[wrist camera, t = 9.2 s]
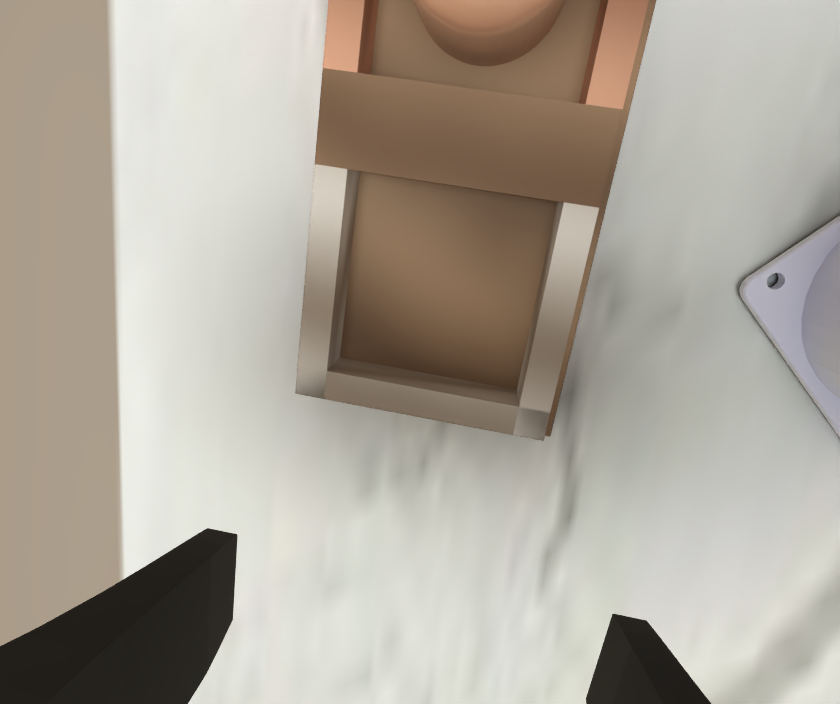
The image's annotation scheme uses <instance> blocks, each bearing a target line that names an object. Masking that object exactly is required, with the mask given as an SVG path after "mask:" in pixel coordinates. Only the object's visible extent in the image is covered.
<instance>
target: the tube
mask: <svg viewBox="0 0 840 704" xmlns="http://www.w3.org/2000/svg"><path fill="white" fill-rule="evenodd" d="M413 1H414V4H415V6H416V9H417V11H418V13H419V16H420V18H421V20H422V22H423V24H424V26H425V29H426V31H427V32H428V34H429V35H430V37H431V38H432V40H433V41H434V42H435V43H436V44H437V45H438V46H439V47H440V48H441V49H442V50H443V51H444V52H445V53H447V54H448V55H450V56H451V57H453V58H454V59H457V60H459V61H461V62H463V63H467V64H470V65H476V66H495V65H501V64H505V63H508V62H511V61H513V60H515V59H518V58H520V57H521V56H523V55H525V54H526V53H528V52H529V51H530V50H532V49H533V48H534V47H535V46H537V45H538V44H539V43H540V42H541V41H542V39H543V38H544V37H545V36H546V35H547V34H548V32H549V31H550V30H551V28H552V27H553V25H554V23H555V22H556V20H557V18H558V16H559V14H560V11H561V9H562V7H563V4H564V1H565V0H413Z"/></svg>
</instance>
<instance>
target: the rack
mask: <svg viewBox="0 0 840 704" xmlns="http://www.w3.org/2000/svg"><path fill="white" fill-rule="evenodd" d="M655 3H656V0H565V1H564V4H563V7H562V9H561V11H560V14H559V16H558V18H557V20H556V22H555V23H554V25H553V27H552V28H551V30H550V31H549V32H548V34H547V35H546V36H545V37H544V38H543V39H542V41H541V42H540V43H539V44H538V45H537V46H535V47H534V48H533V49H532V50H530V51H529V52H528V53H526V54H525V55H523V56H521V57H520V58H518V59H515V60H513V61H511V62H508V63H505V64H501V65H495V66H476V65H470V64H467V63H463V62H461V61H459V60H457V59H454V58H453V57H451V56H450V55H448V54H447V53H445V52H444V51H443V50H442V49H441V48H440V47H439V46H438V45H437V44H436V43H435V42H434V41H433V40H432V38H431V37H430V35H429V34H428V32H427V31H426V29H425V26H424V24H423V22H422V20H421V18H420V16H419V13H418V11H417V9H416V6H415V4H414V1H413V0H329V2H328V14H327V26H326V37H325V49H324V61H323V73H322V85H321V97H320V108H319V120H318V132H317V144H316V156H315V167H314V179H313V191H312V203H311V215H310V226H309V238H308V250H307V262H306V274H305V286H304V297H303V309H302V321H301V333H300V345H299V356H298V368H297V380H296V392H295V393H296V394H301V395H306V396H312V397H317V398H322V399H327V400H333V401H338V402H343V403H348V404H354V405H359V406H364V407H369V408H375V409H380V410H385V411H390V412H396V413H401V414H406V415H411V416H417V417H422V418H427V419H432V420H438V421H443V422H448V423H453V424H459V425H464V426H469V427H474V428H480V429H485V430H490V431H495V432H501V433H506V434H511V435H516V436H522V437H527V438H532V439H537V440H543V441H544V436H550V435H551V431H552V427H553V423H554V419H555V415H556V411H557V407H558V402H559V398H560V394H561V390H562V386H563V382H564V378H565V374H566V369H567V365H568V361H569V357H570V353H571V349H572V345H573V341H574V337H575V332H576V328H577V324H578V320H579V316H580V312H581V308H582V304H583V299H584V295H585V291H586V287H587V283H588V279H589V275H590V271H591V267H592V262H593V258H594V254H595V250H596V246H597V242H598V238H599V234H600V229H601V225H602V221H603V217H604V213H605V209H606V205H607V201H608V197H609V192H610V188H611V184H612V180H613V176H614V172H615V168H616V164H617V159H618V155H619V151H620V147H621V143H622V139H623V135H624V131H625V127H626V122H627V118H628V114H629V110H630V106H631V102H632V98H633V94H634V89H635V85H636V81H637V77H638V73H639V69H640V65H641V61H642V57H643V52H644V48H645V44H646V40H647V36H648V32H649V28H650V24H651V19H652V15H653V11H654V7H655Z"/></svg>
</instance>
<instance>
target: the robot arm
mask: <svg viewBox="0 0 840 704" xmlns="http://www.w3.org/2000/svg"><path fill="white" fill-rule="evenodd" d="M774 273H777V274H778V277H779V279H778V282H777V283H776V284H775V285H774V286H772V287H770V288H769V287H768V285H767V280H768V277H769V276H770V275H771V274H774ZM739 294H740V296H741V298H742V300H743V301H744V303H745V304H746V306H747V307H748V308H749V310H750V311H751V313H752V314H753V316H754V317H755V318H756V320H757V321H758V323H759V324H760V325H761V327H762V328H763V330H764V331H765V333H766V334H767V335H768V337H769V338H770V340H771V341H772V342H773V344H774V345H775V347H776V348H777V350H778V351H779V352H780V354H781V355H782V357H783V358H784V359H785V361H786V362H787V364H788V365H789V367H790V368H791V369H792V371H793V372H794V374H795V375H796V376H797V378H798V379H799V381H800V382H801V384H802V385H803V386H804V388H805V389H806V391H807V392H808V393H809V395H810V396H811V398H812V399H813V401H814V402H815V403H816V405H817V406H818V408H819V409H820V410H821V412H822V413H823V415H824V416H825V418H826V419H827V420H828V422H829V423H830V425H831V426H832V427H833V429H834V430H835V432H836V433H837V435H838V436H839V437H840V216H838V217H837V218H835V219H834V220H832V221H831V222H829V223H828V224H826V225H825V226H823V227H822V228H820V229H819V230H817V231H816V232H814V233H813V234H811V235H810V236H808V237H807V238H805V239H804V240H802V241H801V242H799V243H798V244H796V245H795V246H793V247H792V248H790V249H789V250H787V251H786V252H784V253H783V254H781V255H780V256H778V257H777V258H775V259H774V260H772V261H771V262H769V263H768V264H766V265H765V266H763V267H762V268H760V269H759V270H757V271H756V272H754V273H753V274H751V275H750V276H748V277H747V278H746V279H745V280H744V281H743V282H742V284H741V286H740V291H739ZM236 551H237V534H233V533H228V532H223V531H218V530H214V529H209V528H207V529H206V530H204V531H202V532H200V533H199V534H197V535H195V536H194V537H192V538H190V539H189V540H187V541H186V542H184V543H182V544H181V545H179V546H178V547H176V548H174V549H173V550H171V551H170V552H168V553H166V554H165V555H163V556H161V557H160V558H158V559H157V560H155V561H153V562H152V563H150V564H148V565H147V566H145V567H144V568H142V569H140V570H139V571H137V572H135V573H134V574H132V575H130V576H129V577H127V578H125V579H124V580H122V581H120V582H119V583H117V584H115V585H114V586H112V587H110V588H109V589H107V590H105V591H104V592H102V593H100V594H98V595H96V596H95V597H93V598H91V599H89V600H87V601H85V602H83V603H82V604H80V605H78V606H77V607H74V608H73V609H71V610H69V611H67V612H65V613H64V614H62V615H60V616H58V617H56V618H55V619H53V620H51V621H49V622H47V623H45V624H44V625H42V626H40V627H38V628H36V629H34V630H32V631H30V632H28V633H26V634H24V635H22V636H20V637H18V638H16V639H14V640H12V641H10V642H8V643H6V644H4V645H2V646H0V704H188V702H189V701H190V699H191V698H192V696H193V694H194V693H195V691H196V690H197V688H198V686H199V685H200V683H201V682H202V680H203V678H204V677H205V675H206V673H207V671H208V669H209V667H210V665H211V663H212V661H213V659H214V657H215V655H216V653H217V651H218V649H219V647H220V645H221V643H222V641H223V639H224V637H225V635H226V633H227V630H228V628H229V626H230V624H231V622H232V620H233V605H234V587H235V569H236ZM586 703H587V704H711V703H710V702H709V700H708V699H707V698H706V696H705V695H704V694H703V693H702V691H701V690H700V689H699V688H698V686H697V685H696V684H695V682H694V681H693V680H692V678H691V677H690V676H689V675H688V673H687V672H686V671H685V669H684V668H683V667H682V666H681V664H680V663H679V662H678V660H677V659H676V658H675V656H674V655H673V654H672V653H671V651H670V650H669V649H668V647H667V646H666V645H665V643H664V642H663V641H662V640H661V638H660V637H659V636H658V634H657V633H656V632H655V631H654V629H653V628H652V627H651V626H650V624H649V623H648V622H647V621H645V620H641V619H636V618H631V617H626V616H622V615H617V614H612V618H611V621H610V624H609V627H608V630H607V634H606V637H605V640H604V643H603V646H602V649H601V653H600V656H599V659H598V662H597V665H596V669H595V672H594V675H593V678H592V681H591V684H590V688H589V691H588V694H587V697H586Z"/></svg>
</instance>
